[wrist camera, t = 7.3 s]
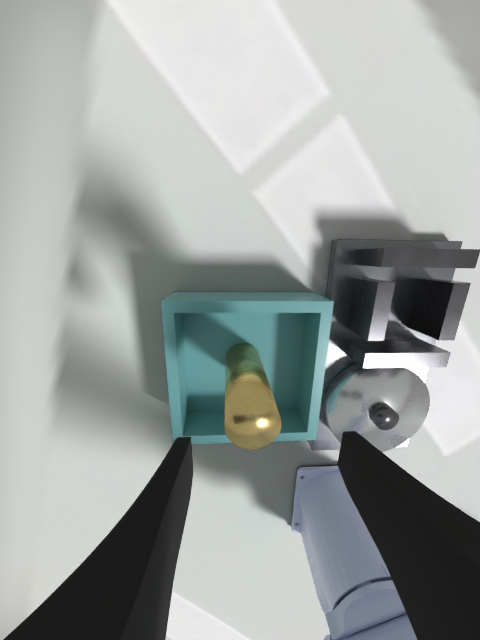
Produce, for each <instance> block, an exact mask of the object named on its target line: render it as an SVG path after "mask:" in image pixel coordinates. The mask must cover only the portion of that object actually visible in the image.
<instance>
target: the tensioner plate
mask: <svg viewBox="0 0 480 640" xmlns="http://www.w3.org/2000/svg"><path fill="white" fill-rule="evenodd" d="M461 245H462V241H409V240H352V239H337V240H333V241H332V249H331V258H330V266H329V275H328V283H327V292H326V298H327V299H330V300H332V301H334V305H333V312H332V320H331V328H330V336H329V343H328V351H327V359H326V367H325V374H324V382H323V390H322V398H321V406H320V413H319V421H318V429H317V437H316V440H309V444H310V447H311V449H312V450H337V449H340V447H341V441H342V434H343V432H344V431H356V432H357V433H358V434H360V435H361V436H362V437H364V438H365V439H366V440H367V441H369V442H370V443H371V444H372V445H373V446H375V447H376V448H377V449H378V450H380V451H381V452H383V451H386V450H390V449H392V448H395V447H408V443H409V439H410V437H412V436H413V435H414V434H415V433H416V432H417V430H418V429H419V428H420V427H421V425H422V424H423V422H424V420H425V418H426V416H427V413H428V410H429V403H430V398H429V392H428V389H427V387H426V384H425V380H426V376H427V372H428V368H429V367H446V366H447V363H448V359H449V356H450V352H448V351H446V350H443V349H441V348H439V347H437V346H435V342H436V339H437V340H454V339H455V335H456V332H457V328H458V325H459V321H460V318H461V315H462V311H463V308H464V304H465V301H466V297H467V294H468V291H469V287H470V284H471V283H466V282H458V281H452V279H453V275H454V271H455V268H475V267H476V263H477V260H478V256H479V253H480V250H473V249H461Z"/></svg>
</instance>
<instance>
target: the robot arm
mask: <svg viewBox="0 0 480 640" xmlns="http://www.w3.org/2000/svg"><path fill="white" fill-rule="evenodd" d="M192 478H193V460H192V444H191V437H177V438H176V439H175V441H174V443H173V445H172V446H171V448H170V450H169V452H168V453H167V455H166V457H165V458H164V460H163V461H162V463H161V465H160V466H159V468H158V469H157V471H156V472H155V474H154V475H153V477H152V478H151V480H150V481H149V483H148V484H147V485H146V487H145V488H144V490H143V491H142V492H141V494H140V495H139V496H138V498H137V499H136V500H135V502H134V503H133V504H132V506H131V507H130V508H129V510H128V511H127V512H126V513H125V515H124V516H123V517H122V518H121V520H120V521H119V522H118V523H117V524H116V526H115V527H114V528H113V529H112V530H111V532H110V533H109V534H108V535H107V536H106V537H105V538H104V540H103V541H102V542H101V543H100V544H99V545H98V546H97V547H96V549H95V550H94V551H93V552H92V553H91V554H90V555H89V556H88V557H87V558H86V560H85V561H84V562H83V563H82V564H81V565H80V566H79V567H78V568H77V569H76V570H75V571H74V572H73V573H72V574H71V575H70V576H69V577H68V578H67V579H66V580H65V581H64V582H63V583H62V584H61V585H60V586H59V587H58V588H57V589H56V590H55V591H54V592H53V593H52V594H51V595H50V596H49V597H48V598H47V599H46V600H45V601H44V602H43V603H42V604H41V605H40V606H39V607H38V608H37V609H36V610H35V611H34V612H33V613H32V614H31V615H30V616H28V617H27V618H26V619H25V620H24V621H23V622H22V623H21V624H20V625H19V626H18V627H17V628H16V629H15V630H13V631H12V632H11V633H10V634H9V635H8V636H7V637H6V638H5V639H4V640H165V637H166V630H167V622H168V615H169V608H170V601H171V594H172V587H173V580H174V574H175V569H176V563H177V558H178V554H179V549H180V544H181V539H182V534H183V530H184V525H185V520H186V515H187V511H188V506H189V501H190V495H191V487H192ZM291 528H292V532H294V533H301V535H302V539H303V543H304V547H305V550H306V554H307V558H308V562H309V565H310V569H311V573H312V577H313V580H314V584H315V588H316V592H317V595H318V599H319V602H320V605H321V607H322V610H323V612H324V614H325V616H326V620H327V623H328V627H329V631H330V635H326V636H325V638H324V640H480V522H478V521H477V520H475V519H474V518H472V517H470V516H469V515H467V514H466V513H464V512H463V511H461V510H460V509H458V508H457V507H455V506H454V505H452V504H451V503H449V502H448V501H446V500H445V499H443V498H442V497H440V496H439V495H437V494H436V493H435V492H433V491H432V490H430V489H429V488H428V487H426V486H425V485H424V484H422V483H421V482H419V481H418V480H417V479H415V478H414V477H413V476H411V475H410V474H409V473H407V472H406V471H405V470H403V469H402V468H401V467H400V466H398V465H397V464H396V463H395V462H393V461H392V460H391V459H390V458H388V457H387V456H386V455H385V454H383V453H382V452H381V451H380V450H378V449H377V448H376V447H375V446H373V445H372V444H371V443H370V442H369V441H367V440H366V439H365V438H364V437H362V436H361V435H360V434H358V433H357V432H356V431H344V432H343V434H342V441H341V447H340V453H339V459H338V466H320V467H301V468H299V469H298V470H297V478H296V487H295V497H294V506H293V516H292V525H291Z"/></svg>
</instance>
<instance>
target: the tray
mask: <svg viewBox="0 0 480 640" xmlns="http://www.w3.org/2000/svg"><path fill="white" fill-rule="evenodd" d="M333 305H334V301H332V300H330V299H327V298H325V297H323V296H320V295H318V294H316V293H314V292H173V293H171V294H170V295H169V296H167V297H166V298H164V299H163V300H161V312H162V324H163V335H164V347H165V359H166V370H167V382H168V394H169V406H170V417H171V429H172V441H173V443H174V441H175V439H176V438H177V437H191V444H216V443H232V442H231V441H230V440H229V439H228V438H227V436H226V433H225V358H226V354H227V352H228V350H229V349H230V348H231V347H232V346H234V345H236V344H239V343H248V344H251V345H253V346H254V347H255V348H256V349H257V350H258V352H259V354H260V357H261V360H262V363H263V366H264V369H265V372H266V375H267V378H268V381H269V384H270V387H271V390H272V393H273V396H274V399H275V403H276V406H277V409H278V412H279V415H280V418H281V423H282V424H281V430H280V433H279V435H278V436H277V438H276V439H275V440H274V441H273V442H275V441H305V440H316V437H317V429H318V421H319V413H320V406H321V398H322V390H323V382H324V374H325V367H326V359H327V351H328V343H329V336H330V328H331V320H332V312H333Z"/></svg>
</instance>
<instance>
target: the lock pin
mask: <svg viewBox="0 0 480 640" xmlns="http://www.w3.org/2000/svg"><path fill="white" fill-rule="evenodd" d="M281 424H282V423H281V418H280V415H279V412H278V409H277V406H276V403H275V399H274V396H273V393H272V390H271V387H270V384H269V381H268V378H267V375H266V372H265V369H264V366H263V363H262V360H261V357H260V354H259V352H258V350H257V349H256V348H255V347H254V346H253V345H251V344H248V343H239V344H236V345H234V346H232V347H231V348H230V349H229V350H228V352H227V354H226V358H225V433H226V436H227V438H228V439H229V440H230V441H231V442H232V443H233V444H234V445H236V446H238V447H240V448H244V449H259V448H262V447H265V446H267V445H269V444H270V443H272V442H273V441H274V440H275V439H276V438H277V436H278V435H279V433H280V430H281Z"/></svg>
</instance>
